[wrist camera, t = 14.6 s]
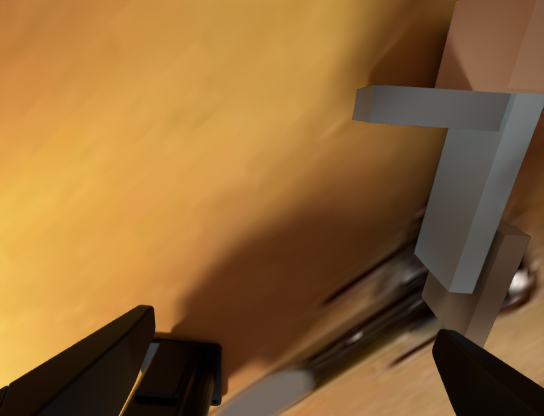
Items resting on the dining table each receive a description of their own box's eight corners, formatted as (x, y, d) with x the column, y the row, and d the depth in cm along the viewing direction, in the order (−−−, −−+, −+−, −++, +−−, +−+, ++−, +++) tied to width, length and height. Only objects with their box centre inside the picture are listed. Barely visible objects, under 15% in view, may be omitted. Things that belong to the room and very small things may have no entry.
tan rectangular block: (511, 99, 14) (624, 95, 9) (433, 94, 14) (507, 88, 9) (542, 7, 13) (693, -51, 8) (455, 2, 13) (556, -59, 8)
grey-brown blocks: (438, 297, 19) (481, 350, 15) (395, 294, 19) (427, 346, 15) (559, -66, 12) (700, -155, 8) (492, -70, 12) (599, -160, 8)
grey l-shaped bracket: (432, 254, 18) (472, 293, 14) (329, 246, 18) (341, 283, 14) (480, 98, 15) (547, 95, 11) (354, 89, 15) (377, 84, 11)
